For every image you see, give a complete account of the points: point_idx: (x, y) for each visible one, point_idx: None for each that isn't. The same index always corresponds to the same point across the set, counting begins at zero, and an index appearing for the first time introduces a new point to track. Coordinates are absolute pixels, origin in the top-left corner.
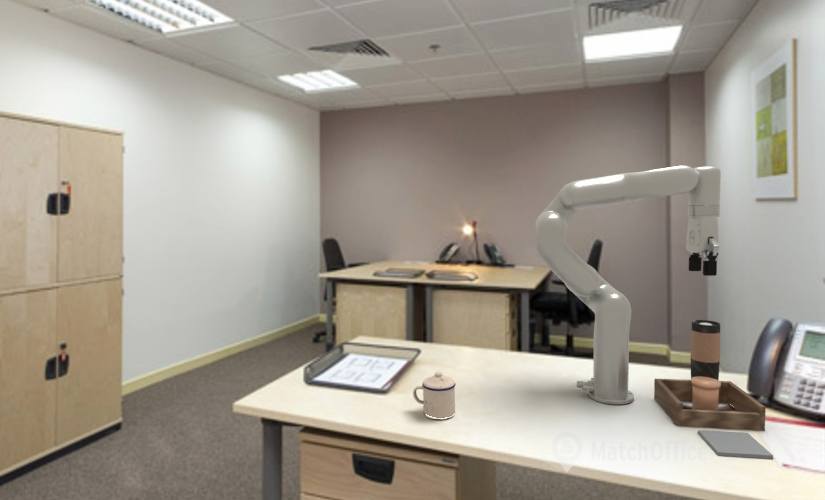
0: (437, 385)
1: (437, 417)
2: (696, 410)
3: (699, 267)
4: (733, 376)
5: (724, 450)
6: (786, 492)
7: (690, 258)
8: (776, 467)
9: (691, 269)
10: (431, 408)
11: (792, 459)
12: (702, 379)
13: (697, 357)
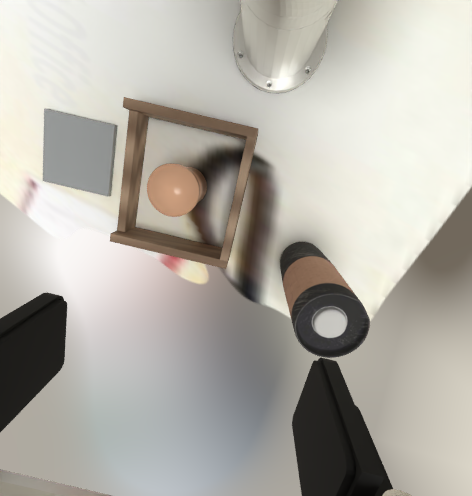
0: None
1: None
2: (131, 137)
3: (299, 435)
4: None
5: (50, 121)
6: None
7: (346, 462)
8: (25, 168)
9: (314, 374)
10: None
11: (48, 204)
12: (179, 189)
13: (301, 260)
